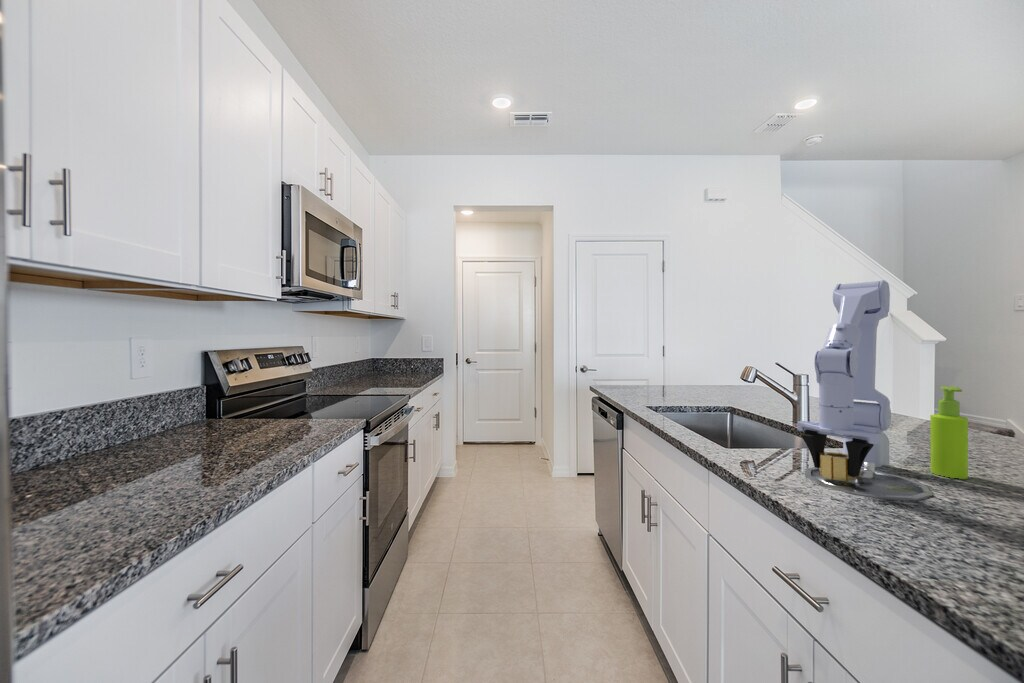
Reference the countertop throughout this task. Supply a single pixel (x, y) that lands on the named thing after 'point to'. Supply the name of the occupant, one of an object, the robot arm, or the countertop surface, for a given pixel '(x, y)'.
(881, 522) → the countertop surface
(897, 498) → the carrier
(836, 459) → the gear
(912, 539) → the countertop surface
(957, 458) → the soap dispenser
